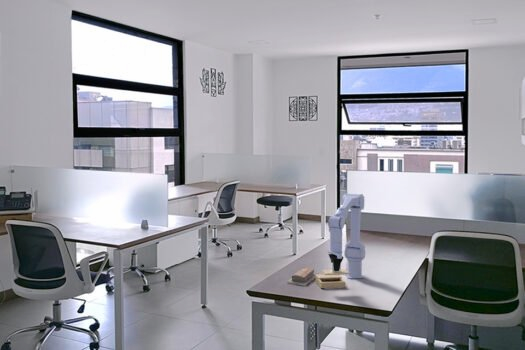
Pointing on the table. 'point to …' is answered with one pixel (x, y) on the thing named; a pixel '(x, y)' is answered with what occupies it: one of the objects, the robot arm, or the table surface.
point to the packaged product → (302, 277)
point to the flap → (332, 272)
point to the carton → (330, 281)
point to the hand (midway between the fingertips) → (335, 269)
